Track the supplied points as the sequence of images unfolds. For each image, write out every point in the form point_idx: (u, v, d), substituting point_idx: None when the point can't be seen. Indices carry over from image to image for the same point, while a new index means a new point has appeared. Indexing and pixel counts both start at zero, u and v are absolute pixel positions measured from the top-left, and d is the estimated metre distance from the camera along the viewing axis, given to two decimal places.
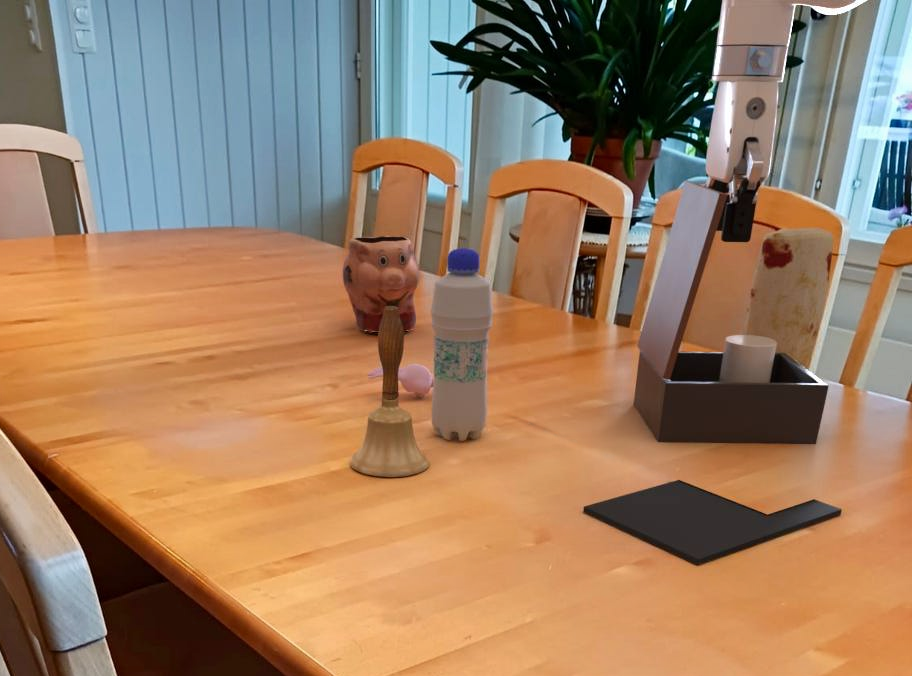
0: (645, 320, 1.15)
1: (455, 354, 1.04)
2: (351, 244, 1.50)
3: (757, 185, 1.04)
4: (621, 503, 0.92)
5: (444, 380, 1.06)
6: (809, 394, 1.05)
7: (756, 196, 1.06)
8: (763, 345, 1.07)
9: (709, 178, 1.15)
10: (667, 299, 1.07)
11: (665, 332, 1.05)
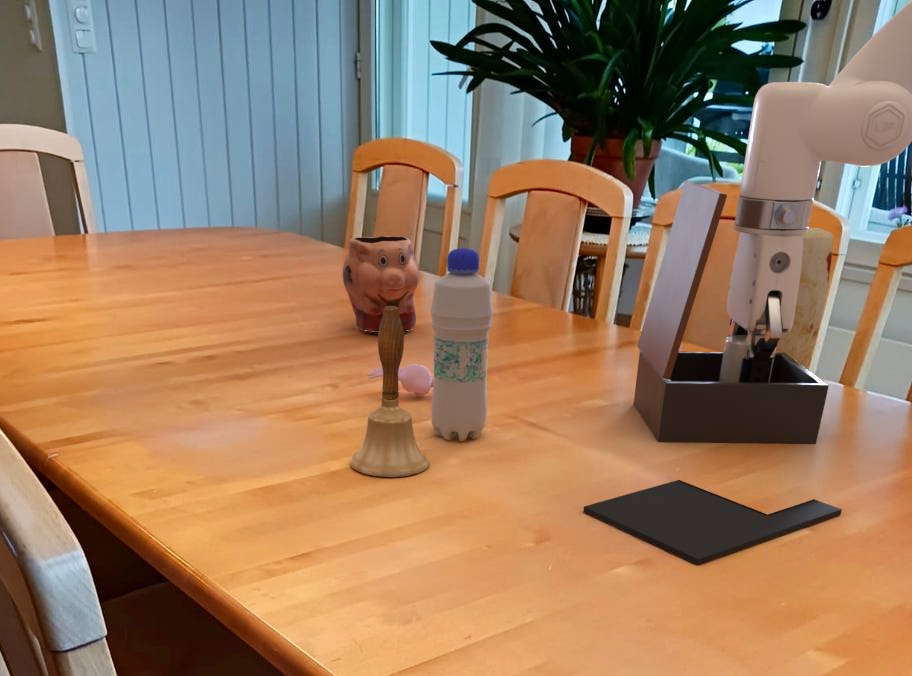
0: (645, 320, 1.15)
1: (455, 354, 1.04)
2: (351, 244, 1.50)
3: (774, 345, 1.03)
4: (621, 503, 0.92)
5: (444, 380, 1.06)
6: (809, 394, 1.05)
7: (772, 356, 1.05)
8: None
9: None
10: (667, 299, 1.07)
11: (665, 332, 1.05)
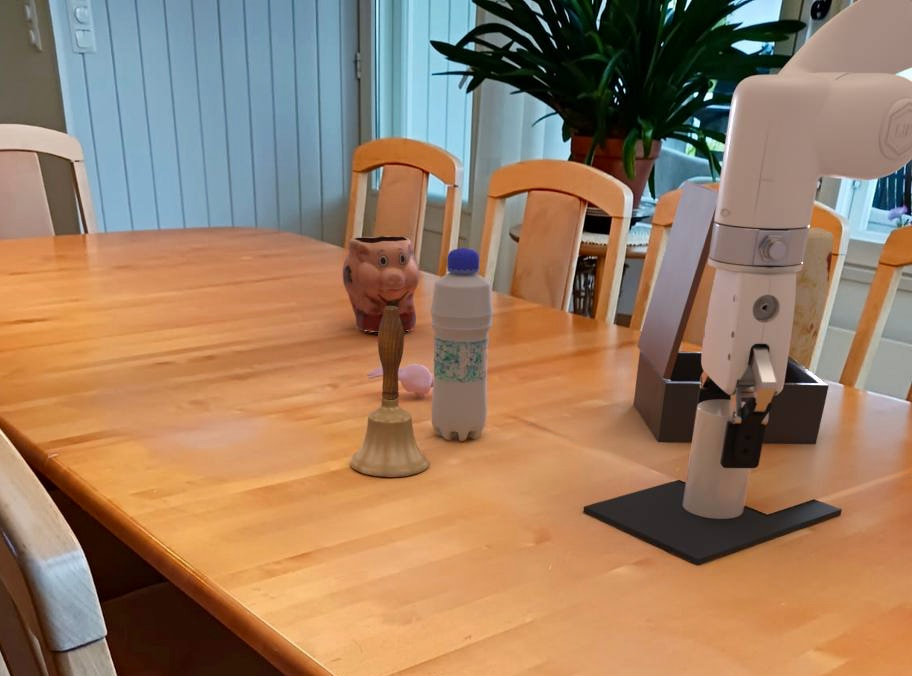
0: (645, 320, 1.15)
1: (455, 354, 1.04)
2: (351, 244, 1.50)
3: (768, 407, 0.79)
4: (621, 503, 0.92)
5: (444, 380, 1.06)
6: (809, 394, 1.05)
7: (766, 417, 0.81)
8: None
9: None
10: (667, 299, 1.07)
11: (665, 332, 1.05)
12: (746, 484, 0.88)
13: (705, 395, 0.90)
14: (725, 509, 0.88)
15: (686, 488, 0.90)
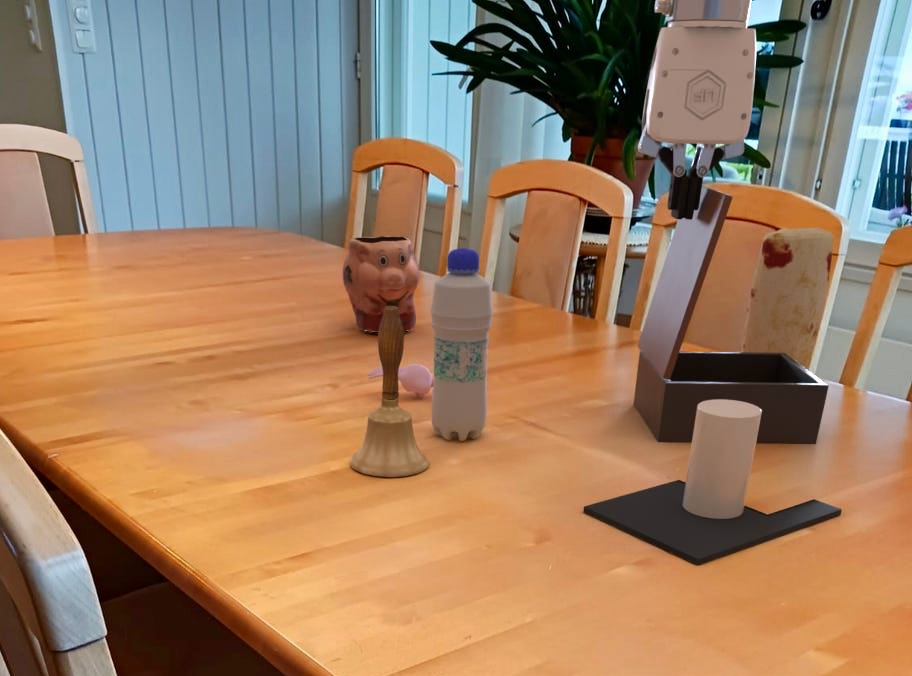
0: (646, 320, 1.15)
1: (455, 354, 1.04)
2: (351, 244, 1.50)
3: (659, 154, 0.99)
4: (621, 503, 0.92)
5: (444, 380, 1.06)
6: (809, 394, 1.05)
7: (673, 173, 0.99)
8: (744, 416, 0.84)
9: None
10: (669, 300, 1.07)
11: (666, 333, 1.05)
12: (746, 484, 0.88)
13: None
14: (725, 509, 0.88)
15: (686, 488, 0.90)
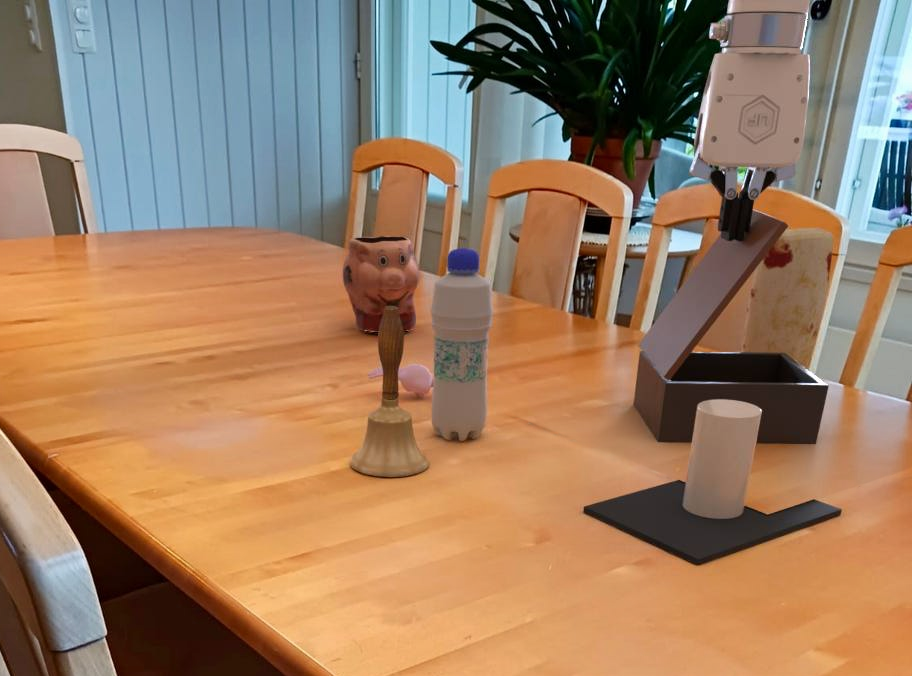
0: (655, 323, 1.15)
1: (455, 354, 1.04)
2: (351, 244, 1.50)
3: (711, 177, 1.00)
4: (621, 503, 0.92)
5: (444, 380, 1.06)
6: (809, 394, 1.05)
7: (725, 196, 1.01)
8: (744, 416, 0.84)
9: None
10: (688, 307, 1.07)
11: (678, 336, 1.06)
12: (746, 484, 0.88)
13: None
14: (725, 509, 0.88)
15: (686, 488, 0.90)
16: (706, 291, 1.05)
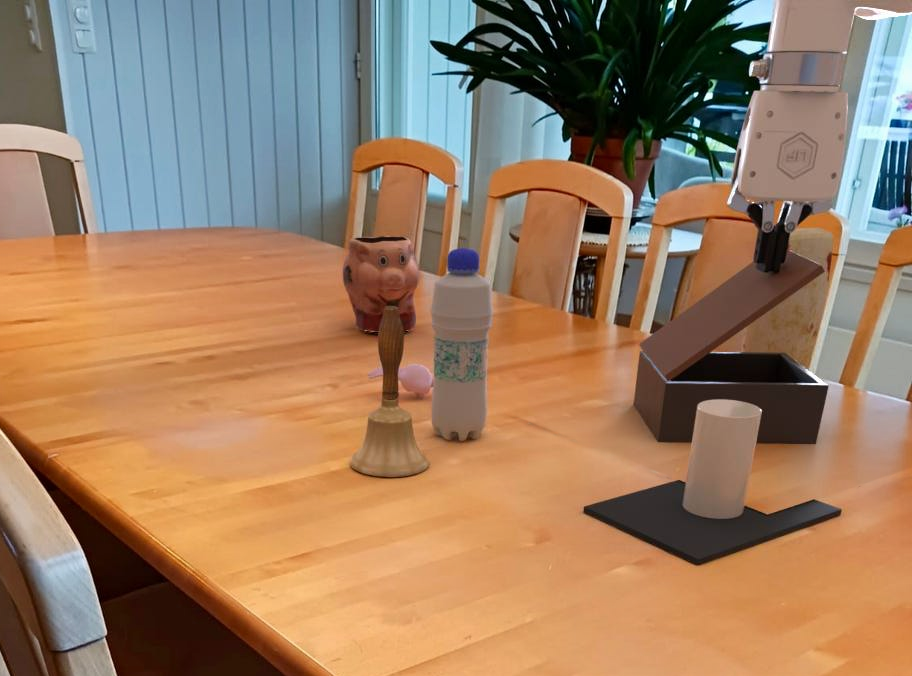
0: (662, 328, 1.15)
1: (455, 354, 1.04)
2: (351, 244, 1.50)
3: (748, 210, 1.02)
4: (621, 503, 0.92)
5: (444, 380, 1.06)
6: (809, 394, 1.05)
7: (762, 229, 1.02)
8: (744, 416, 0.84)
9: None
10: (702, 321, 1.08)
11: (687, 344, 1.06)
12: (746, 484, 0.88)
13: None
14: (725, 509, 0.88)
15: (686, 488, 0.90)
16: (725, 310, 1.06)
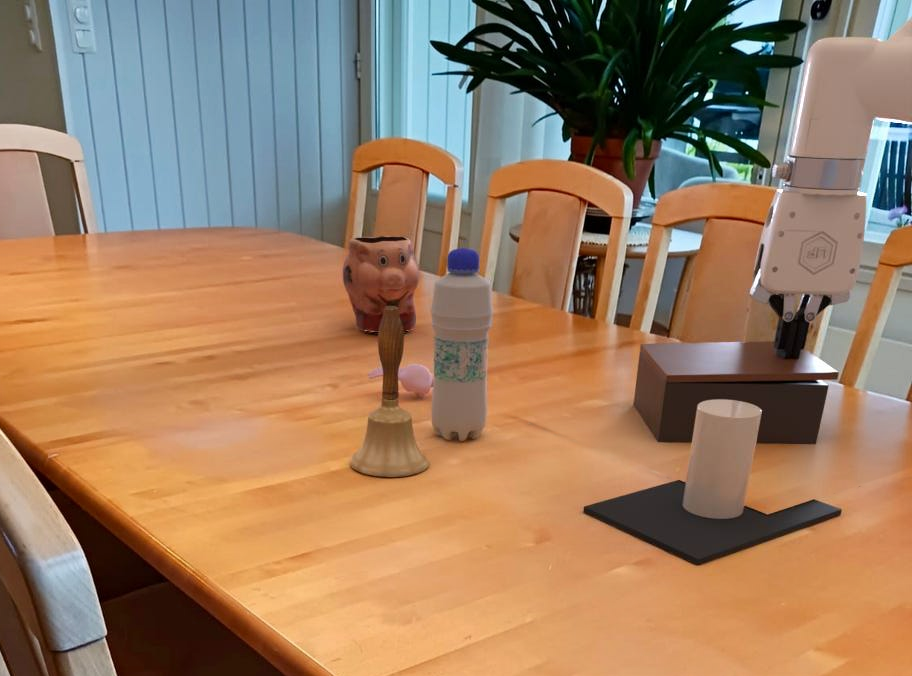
0: (667, 344, 1.16)
1: (455, 354, 1.04)
2: (351, 244, 1.50)
3: (770, 301, 1.06)
4: (621, 503, 0.92)
5: (444, 380, 1.06)
6: (809, 394, 1.05)
7: (782, 318, 1.07)
8: (744, 416, 0.84)
9: None
10: (712, 357, 1.10)
11: (694, 364, 1.07)
12: (746, 484, 0.88)
13: None
14: (725, 509, 0.88)
15: (686, 488, 0.90)
16: (737, 360, 1.09)
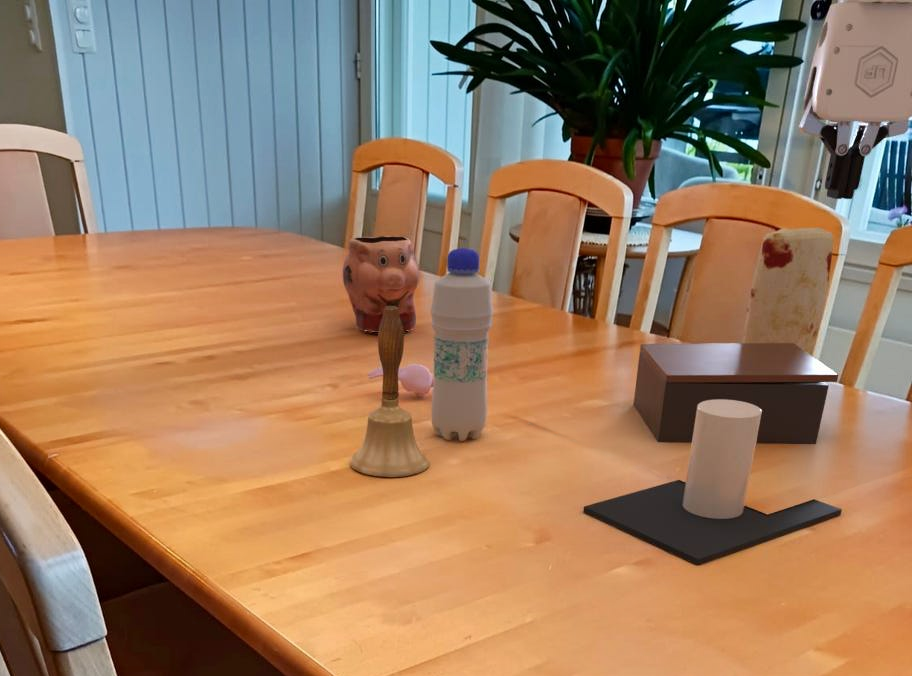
0: (667, 344, 1.16)
1: (455, 354, 1.04)
2: (351, 244, 1.50)
3: (822, 132, 0.98)
4: (621, 503, 0.92)
5: (444, 380, 1.06)
6: (809, 394, 1.05)
7: (836, 152, 0.98)
8: (744, 416, 0.84)
9: None
10: (712, 357, 1.10)
11: (694, 365, 1.07)
12: (746, 484, 0.88)
13: None
14: (725, 509, 0.88)
15: (686, 488, 0.90)
16: (737, 361, 1.09)
